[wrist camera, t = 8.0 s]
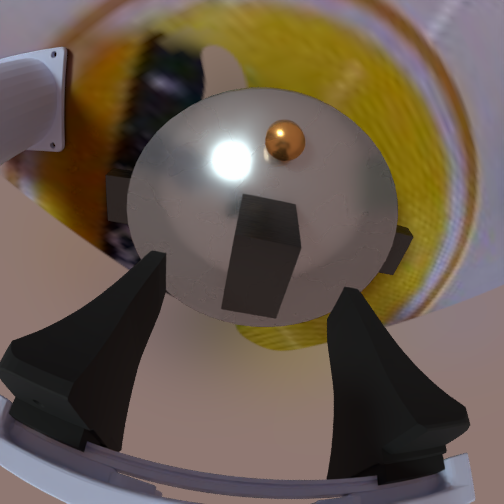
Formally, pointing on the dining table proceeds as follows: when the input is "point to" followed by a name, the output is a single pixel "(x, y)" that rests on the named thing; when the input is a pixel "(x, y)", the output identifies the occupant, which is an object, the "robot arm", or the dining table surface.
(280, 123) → the cooker lid
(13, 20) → the dining table surface
